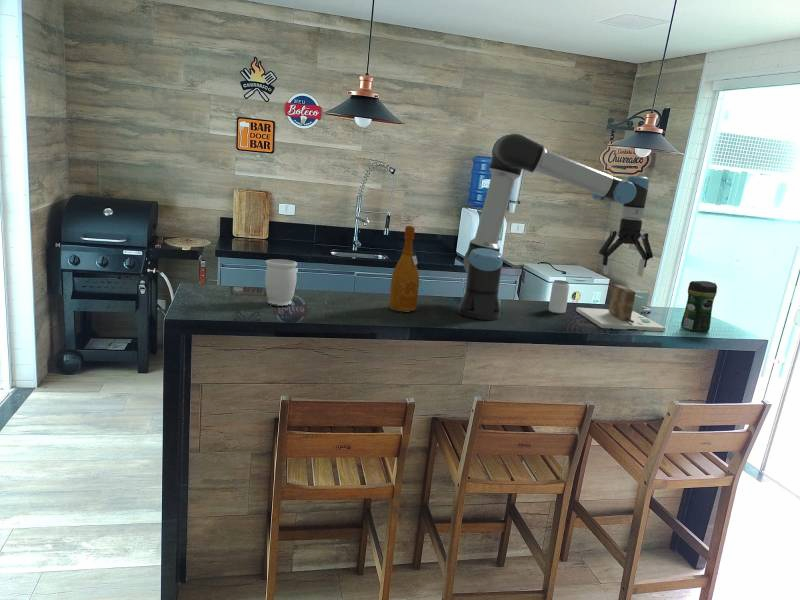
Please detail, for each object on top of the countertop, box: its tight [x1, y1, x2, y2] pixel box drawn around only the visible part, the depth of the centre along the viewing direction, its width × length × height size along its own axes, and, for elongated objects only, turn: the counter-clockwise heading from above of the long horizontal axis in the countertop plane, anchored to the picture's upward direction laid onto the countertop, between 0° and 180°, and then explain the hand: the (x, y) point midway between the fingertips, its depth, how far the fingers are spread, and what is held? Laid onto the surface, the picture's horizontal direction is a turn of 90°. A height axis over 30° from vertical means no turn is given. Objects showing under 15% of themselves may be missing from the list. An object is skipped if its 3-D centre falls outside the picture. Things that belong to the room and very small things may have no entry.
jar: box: [264, 258, 298, 305], centre depth 203 cm, size 11×10×15 cm
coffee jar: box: [680, 280, 718, 333], centre depth 220 cm, size 10×8×19 cm
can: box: [548, 279, 570, 314], centre depth 230 cm, size 6×6×12 cm
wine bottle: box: [389, 225, 420, 312], centre depth 209 cm, size 10×10×30 cm
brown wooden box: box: [608, 284, 636, 323], centre depth 221 cm, size 17×3×11 cm, turn 5°
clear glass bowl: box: [632, 291, 652, 314], centre depth 246 cm, size 12×12×8 cm
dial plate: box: [575, 306, 666, 332], centre depth 225 cm, size 24×24×2 cm
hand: (622, 275), depth 225 cm, fingers open, 13 cm apart
